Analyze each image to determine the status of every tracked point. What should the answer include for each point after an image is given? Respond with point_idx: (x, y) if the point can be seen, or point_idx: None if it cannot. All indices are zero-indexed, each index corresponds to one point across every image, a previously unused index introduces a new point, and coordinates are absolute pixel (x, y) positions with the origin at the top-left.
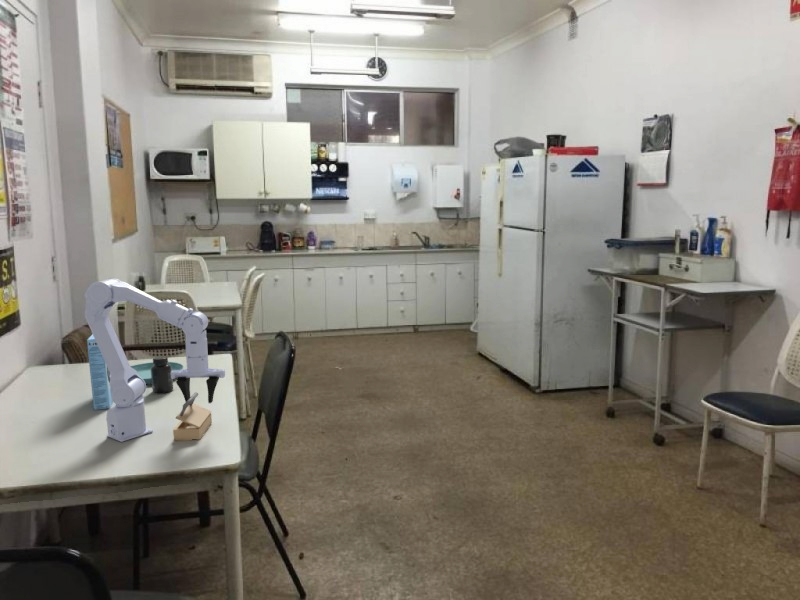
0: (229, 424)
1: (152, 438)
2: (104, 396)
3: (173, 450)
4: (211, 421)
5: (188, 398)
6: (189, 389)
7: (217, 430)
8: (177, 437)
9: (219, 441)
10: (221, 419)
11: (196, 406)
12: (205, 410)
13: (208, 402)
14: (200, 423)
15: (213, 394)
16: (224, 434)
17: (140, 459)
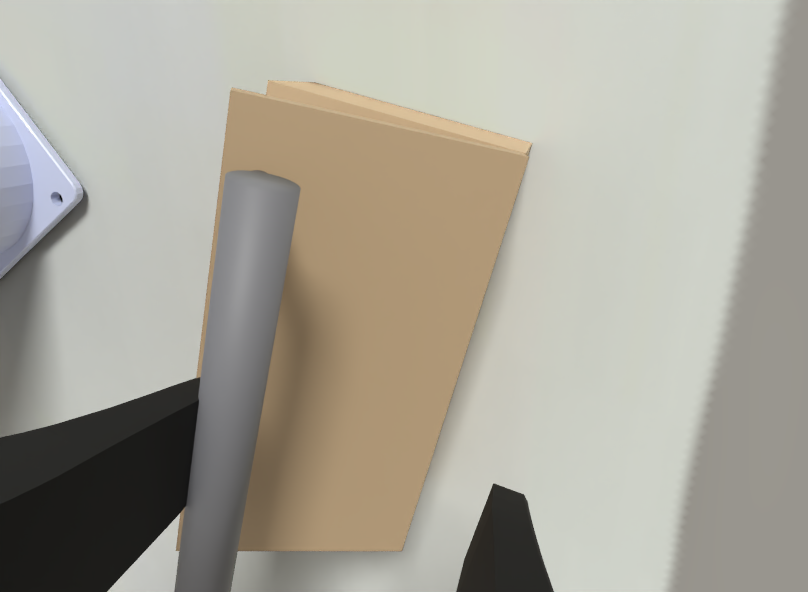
0: (701, 234)
1: (118, 314)
2: None
3: (277, 559)
4: (528, 153)
5: (181, 482)
6: (101, 462)
7: (566, 347)
8: None
9: (557, 564)
10: (646, 38)
11: (336, 170)
12: (454, 190)
13: (462, 570)
14: (407, 494)
15: (540, 568)
16: (612, 457)
17: (139, 585)
